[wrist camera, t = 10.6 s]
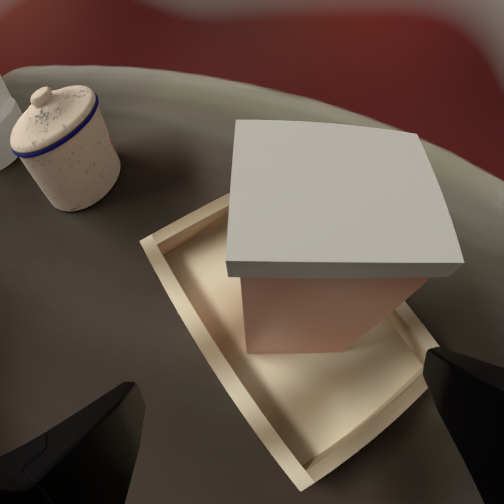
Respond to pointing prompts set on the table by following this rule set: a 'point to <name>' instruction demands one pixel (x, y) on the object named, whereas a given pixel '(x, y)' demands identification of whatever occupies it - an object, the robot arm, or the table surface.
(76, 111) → the teacup with lid
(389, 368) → the tray
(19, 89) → the table surface
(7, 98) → the base with upright slab
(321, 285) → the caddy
